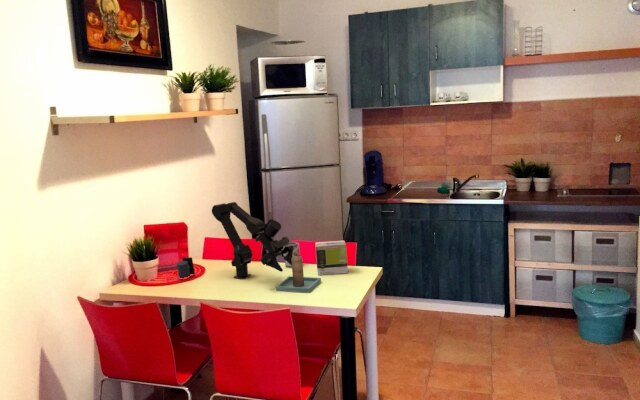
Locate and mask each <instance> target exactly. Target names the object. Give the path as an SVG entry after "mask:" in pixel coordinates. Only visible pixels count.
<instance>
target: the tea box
mask: <svg viewBox="0 0 640 400" xmlns="http://www.w3.org/2000/svg"><path fill="white" fill-rule="evenodd" d="M347 250H348V249H347V244H346V242H345V240H331V241H318V242H317V241H316V242H315V259H316V270H317V271H316V272H317V276H322V275H323V276H325V275H336V274H349V271H348V270H349V269H348V266H349V265H348V253H347Z"/></svg>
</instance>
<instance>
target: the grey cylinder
mask: <svg viewBox="0 0 640 400" xmlns="http://www.w3.org/2000/svg"><path fill="white" fill-rule="evenodd" d="M289 245H292V246H293V247H294V250H293V252H292V256H293V257H297V256H300V257H301V251H300V249H301V248H300V243H299V242H296V241H289V243H288V245H285V246H283V247H284V248H285V247H286V246H289ZM284 248H283V249H284ZM283 249H282V250H283ZM284 265H285V267H286V268H291V269H292V265H291V264H289V263H288V262H287V261H286V260H285V259H284Z"/></svg>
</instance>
